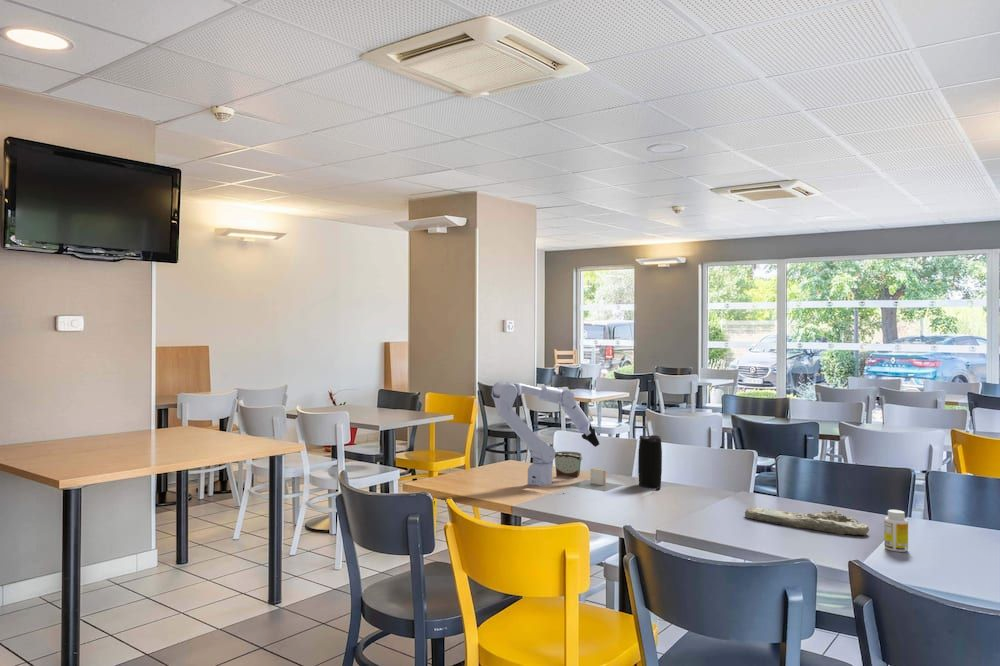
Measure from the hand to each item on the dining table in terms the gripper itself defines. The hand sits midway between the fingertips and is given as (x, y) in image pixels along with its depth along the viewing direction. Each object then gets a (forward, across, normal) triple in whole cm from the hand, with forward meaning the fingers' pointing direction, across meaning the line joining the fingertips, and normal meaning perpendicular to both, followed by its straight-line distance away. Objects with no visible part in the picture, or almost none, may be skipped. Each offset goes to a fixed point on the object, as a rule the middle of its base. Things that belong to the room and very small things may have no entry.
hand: (595, 441), depth 278 cm
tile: (+8, -16, +7) cm, 19 cm away
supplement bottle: (+29, -94, -56) cm, 113 cm away
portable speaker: (+19, -19, -8) cm, 28 cm away
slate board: (+7, -18, +9) cm, 21 cm away
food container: (+9, +2, +17) cm, 19 cm away
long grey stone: (+27, -70, -41) cm, 85 cm away
